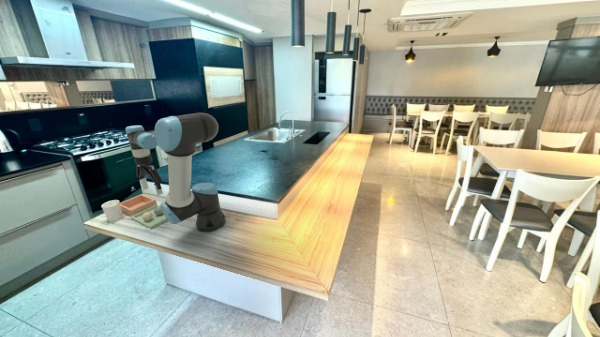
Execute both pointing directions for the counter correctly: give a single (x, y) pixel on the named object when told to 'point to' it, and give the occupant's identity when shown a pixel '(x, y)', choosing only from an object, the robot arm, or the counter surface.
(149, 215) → the sand pebble
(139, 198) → the terracotta dish
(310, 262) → the counter surface
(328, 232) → the counter surface
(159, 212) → the slate pebble
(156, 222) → the parts tray
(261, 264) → the counter surface
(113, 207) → the white cup
